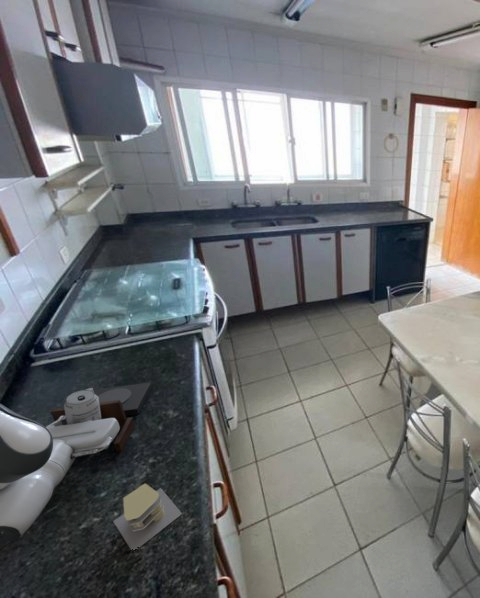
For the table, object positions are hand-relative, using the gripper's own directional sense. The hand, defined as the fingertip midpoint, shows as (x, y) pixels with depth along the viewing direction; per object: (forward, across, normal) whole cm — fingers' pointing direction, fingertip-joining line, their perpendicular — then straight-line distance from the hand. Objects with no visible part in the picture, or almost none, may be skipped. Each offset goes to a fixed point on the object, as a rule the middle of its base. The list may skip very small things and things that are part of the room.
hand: (78, 415), depth 81 cm
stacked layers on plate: (-26, -20, +9) cm, 34 cm away
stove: (+14, 0, +9) cm, 17 cm away
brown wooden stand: (-1, 0, +9) cm, 9 cm away
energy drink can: (-1, 0, +8) cm, 9 cm away
